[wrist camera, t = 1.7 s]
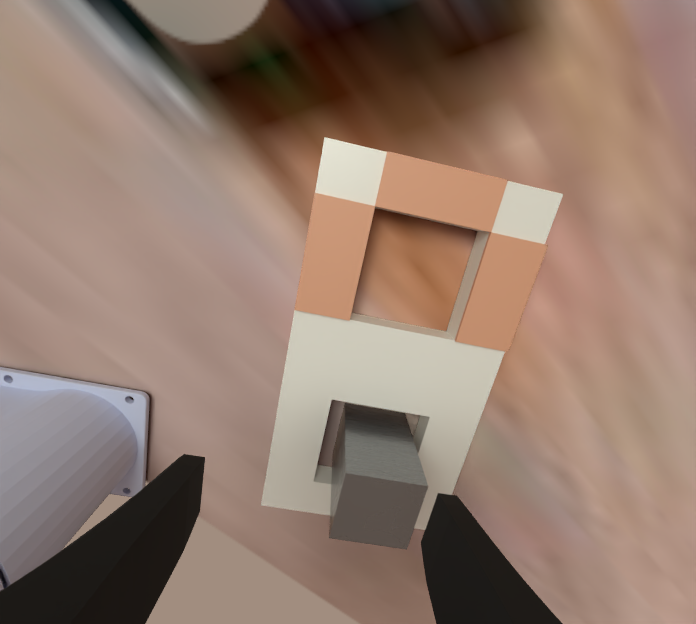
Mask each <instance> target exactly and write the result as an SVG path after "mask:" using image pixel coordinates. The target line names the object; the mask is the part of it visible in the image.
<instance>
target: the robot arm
mask: <svg viewBox="0 0 696 624" xmlns="http://www.w3.org/2000/svg"><path fill="white" fill-rule="evenodd" d="M11 377H12V378H13V379H12V378H11ZM129 396H131V397H132V398H133V399H134V400H132V399H130V397H129ZM148 420H149V396H148V395H147V394H146V393H145V392H142V391H137V390H132V389H126V388H120V387H114V386H108V385H103V384H97V383H91V382H85V381H79V380H74V379H68V378H62V377H56V376H50V375H45V374H39V373H33V372H27V371H21V370H16V369H10V368H4V367H0V624H145V623H146V621H147V619H148V617H149V615H150V614H151V612H152V610H153V608H154V606H155V604H156V602H157V600H158V598H159V596H160V595H161V593H162V591H163V589H164V587H165V585H166V583H167V582H168V580H169V578H170V576H171V574H172V572H173V570H174V568H175V566H176V564H177V562H178V560H179V559H180V557H181V555H182V553H183V551H184V548H185V546H186V543H187V541H188V539H189V537H190V534H191V532H192V529H193V527H194V524H195V522H196V519H197V517H198V515H199V512H200V504H201V494H202V483H203V473H204V463H205V457H199V456H193V455H186V454H184V455H182V456H181V457H179V458H178V459H177V460H176V461H175V462H174V463H172V464H171V465H170V466H169V467H168V468H167V469H165V470H164V471H163V472H162V473H161V474H160V475H158V476H157V477H156V478H155V479H154V480H153V481H151V482H150V483H149V484H148V485H147V486H145V480H146V460H147V440H148ZM128 488H129V489H128ZM109 494H114V495H121V496H128V497H132V498H131V499H129V500H128V501H127V502H126V503H124V504H123V505H122V506H121V507H119V508H118V509H117V510H116V511H114V512H113V513H112V514H110V515H109V516H108V517H107V518H106V519H104V520H103V521H101V522H100V523H98V524H97V525H96V526H95V527H93V528H92V529H91V530H89V531H88V532H86V533H85V534H84V535H82V536H81V537H80V538H78V539H77V540H76V541H74V542H73V543H71V544H70V545H69V546H67V547H66V548H64V547H65V545H66V544H67V543H68V542H69V541H70V540H71V538H72V537H73V536H74V535H75V534H76V532H77V531H78V530H79V529H80V528H81V526H82V525H83V524H84V523H85V522H86V521H87V520H88V518H89V517H90V516H91V515H92V514H93V512H94V511H95V510H96V509H97V508H98V507H99V505H100V504H101V503H102V501H104V499H105V498H106V497H107V496H108V495H109ZM421 546H422V554H423V562H424V569H425V575H426V582H427V586H428V590H429V595H430V599H431V603H432V607H433V611H434V615H435V619H436V623H437V624H562V623H561V622H560V621H559V619H558V618H557V617H556V616H555V615H554V614H553V613H552V612H551V611H550V610H549V608H548V607H547V606H546V605H545V604H544V603H543V601H542V600H541V599H540V598H539V597H538V596H537V595H536V593H535V592H534V591H533V590H532V589H531V588H530V587H529V585H528V584H527V583H526V582H525V581H524V580H523V578H522V577H521V576H520V575H519V574H518V572H517V571H516V570H515V569H514V568H513V566H512V565H511V564H510V563H509V561H508V560H507V559H506V558H505V556H504V555H503V554H502V553H501V551H500V550H499V549H498V548H497V546H496V545H495V544H494V543H493V541H492V540H491V539H490V538H489V536H488V535H487V534H486V532H485V531H484V530H483V529H482V527H481V526H480V525H479V523H478V522H477V521H476V520H475V518H474V517H473V516H472V514H471V513H470V512H469V510H468V509H467V508H466V507H465V505H464V504H463V503H462V502H461V500H460V499H459V498H458V497H457V496H455V495H448V494H442V493H438V494H437V497H436V500H435V503H434V506H433V509H432V512H431V515H430V518H429V521H428V524H427V526H426V529H425V532H424V535H423V538H422V541H421ZM63 548H64V549H63ZM62 549H63V550H62ZM61 550H62V551H61Z"/></svg>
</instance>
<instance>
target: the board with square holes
mask: <svg viewBox="0 0 696 624" xmlns="http://www.w3.org/2000/svg"><path fill="white" fill-rule="evenodd" d="M562 196H563V194H560V193H556V192H552V191H548V190H544V189H539V188H535V187H531V186H527V185H523V184H518V183H514V182H510V181H508V180H506V179H501V178H497V177H493V176H489V175H485V174H481V173H476V172H472V171H468V170H464V169H460V168H455V167H451V166H447V165H443V164H439V163H434V162H430V161H426V160H422V159H418V158H413V157H409V156H405V155H401V154H397V153H393V152H388V151H387V152H384V151H380V150H376V149H372V148H367V147H363V146H359V145H355V144H351V143H346V142H342V141H338V140H334V139H330V138H325V139H324V144H323V150H322V156H321V162H320V167H319V173H318V179H317V185H316V191H315V194H314V200H313V206H312V211H311V217H310V223H309V229H308V234H307V240H306V246H305V252H304V258H303V263H302V269H301V275H300V281H299V286H298V292H297V298H296V304H295V312H294V317H293V323H292V329H291V335H290V340H289V346H288V352H287V358H286V363H285V369H284V375H283V381H282V387H281V392H280V398H279V404H278V410H277V415H276V421H275V427H274V433H273V438H272V444H271V450H270V456H269V461H268V467H267V473H266V479H265V485H264V490H263V496H262V502H261V505H263V506H269V507H276V508H283V509H289V510H296V511H302V512H309V513H316V514H322V515H329V516H330V505H331V481H332V467H328V466H322V465H317V463H318V459H319V454H320V450H321V445H322V441H323V436H324V432H325V427H326V423H327V418H328V414H329V409H330V405H331V400H337V401H343V402H349V403H354V404H360V405H366V406H371V407H377V408H382V409H388V410H394V411H399V412H405V413H410V414H416V415H420V418H419V421H418V424H417V427H416V430H415V434H414V437H413V440H414V443H415V447H416V450H417V453H418V456H419V459H420V462H421V465H422V468H423V471H424V474H425V478H426V481H427V484H428V489H427V492H426V495H425V498H424V501H423V503H422V506H421V509H420V512H419V515H418V518H417V521H416V524H415V527H414V528H415V529H421V530H425V529H426V526H427V524H428V521H429V518H430V515H431V512H432V509H433V506H434V503H435V500H436V497H437V494H438V493H442V494H448V495H452V493H453V490H454V488H455V485H456V482H457V479H458V477H459V474H460V471H461V469H462V466H463V463H464V461H465V458H466V455H467V452H468V450H469V447H470V444H471V442H472V439H473V436H474V434H475V431H476V428H477V425H478V423H479V420H480V417H481V415H482V412H483V409H484V407H485V404H486V401H487V398H488V396H489V393H490V390H491V388H492V385H493V382H494V380H495V377H496V374H497V371H498V369H499V366H500V363H501V361H502V358H503V355H504V353H505V352H507V351H508V350H509V349H510V346H511V344H512V341H513V338H514V336H515V333H516V330H517V328H518V325H519V322H520V320H521V317H522V314H523V312H524V309H525V306H526V304H527V301H528V298H529V296H530V293H531V290H532V288H533V285H534V282H535V279H536V277H537V274H538V271H539V269H540V266H541V263H542V261H543V258H544V255H545V253H546V250H547V247H548V245H545V242H546V239H547V237H548V234H549V231H550V228H551V226H552V223H553V220H554V218H555V215H556V212H557V210H558V207H559V204H560V202H561V199H562ZM375 208H377V209H382V210H386V211H390V212H395V213H399V214H404V215H408V216H413V217H417V218H422V219H426V220H430V221H435V222H439V223H444V224H448V225H453V226H457V227H462V228H466V229H471V230H475V231H478V232H477V235H476V238H475V241H474V244H473V248H472V251H471V254H470V257H469V260H468V264H467V267H466V270H465V273H464V276H463V280H462V283H461V286H460V289H459V292H458V296H457V299H456V302H455V305H454V308H453V312H452V315H451V318H450V321H449V325H448V328H447V331H442V330H437V329H432V328H427V327H422V326H417V325H411V324H406V323H401V322H396V321H391V320H386V319H381V318H376V317H371V316H366V315H361V314H356V313H351V312H352V308H353V303H354V299H355V294H356V290H357V285H358V281H359V277H360V272H361V268H362V263H363V259H364V254H365V250H366V245H367V241H368V236H369V232H370V227H371V223H372V218H373V214H374V209H375Z"/></svg>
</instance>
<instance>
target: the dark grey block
mask: <svg viewBox="0 0 696 624" xmlns="http://www.w3.org/2000/svg"><path fill="white" fill-rule="evenodd" d="M427 489H428V484H427V481H426V478H425V474H424V471H423V468H422V465H421V462H420V459H419V456H418V453H417V450H416V447H415V443H414V440H413V437H412V434H411V431H410V428H409V425H408V422H407V419H406V416H405V413H399V412H394V411H388V410H382V409H377V408H371V407H366V406H360V405H354V404H349V403H345V404H344V408H343V412H342V416H341V421H340V425H339V429H338V433H337V438H336V442H335V446H334V450H333V457H332V481H331V505H330V530H329V538H332V539H339V540H346V541H353V542H360V543H366V544H373V545H380V546H387V547H394V548H401V549H407V547H408V544H409V541H410V538H411V536H412V533H413V530H414V527H415V524H416V521H417V518H418V515H419V512H420V509H421V506H422V503H423V501H424V498H425V495H426V492H427Z"/></svg>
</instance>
